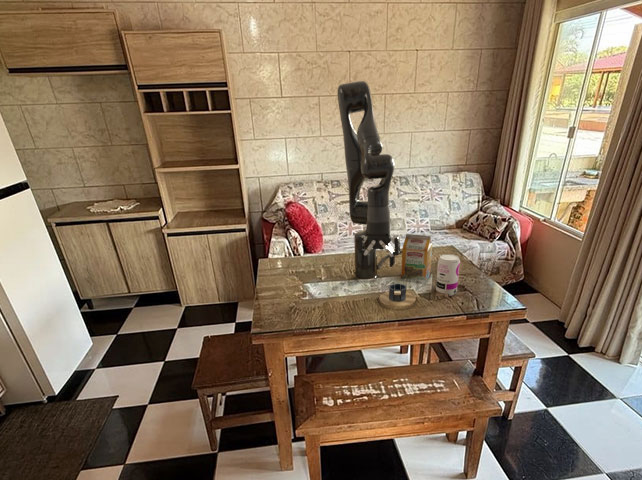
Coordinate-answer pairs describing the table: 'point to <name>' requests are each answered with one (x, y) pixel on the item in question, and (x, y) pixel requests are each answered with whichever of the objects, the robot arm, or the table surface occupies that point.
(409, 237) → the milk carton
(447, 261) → the supplement can
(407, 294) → the turntable
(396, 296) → the dark grey basket
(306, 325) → the table surface
